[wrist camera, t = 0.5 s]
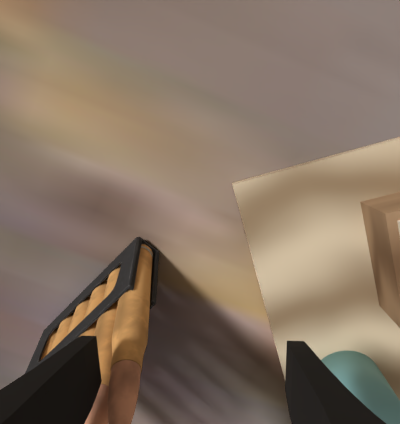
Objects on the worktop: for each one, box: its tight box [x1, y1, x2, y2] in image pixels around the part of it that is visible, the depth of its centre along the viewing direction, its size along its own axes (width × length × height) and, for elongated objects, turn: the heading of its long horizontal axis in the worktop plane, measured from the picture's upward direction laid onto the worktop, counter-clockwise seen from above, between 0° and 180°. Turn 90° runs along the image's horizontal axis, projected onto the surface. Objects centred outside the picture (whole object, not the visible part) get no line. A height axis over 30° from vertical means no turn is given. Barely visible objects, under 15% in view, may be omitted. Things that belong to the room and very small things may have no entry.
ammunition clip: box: [25, 237, 159, 424], centre depth 17 cm, size 11×2×12 cm, turn 135°
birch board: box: [232, 137, 400, 400], centre depth 20 cm, size 20×16×1 cm
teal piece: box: [321, 350, 400, 424], centre depth 19 cm, size 4×4×4 cm
